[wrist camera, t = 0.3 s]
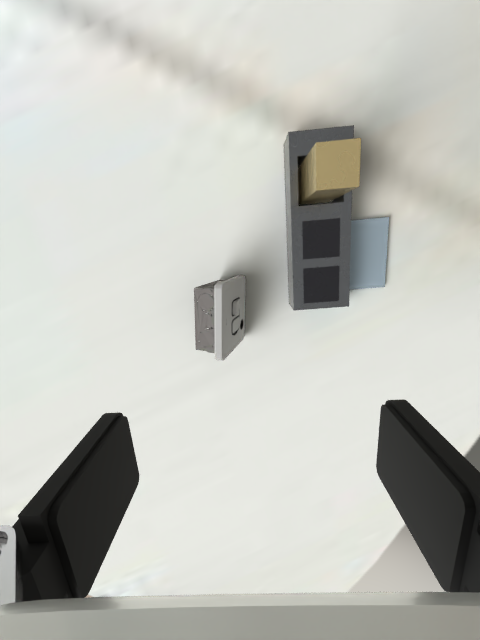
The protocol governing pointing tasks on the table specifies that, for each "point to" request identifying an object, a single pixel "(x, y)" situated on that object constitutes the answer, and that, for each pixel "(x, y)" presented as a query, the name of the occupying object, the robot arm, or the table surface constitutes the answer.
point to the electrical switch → (220, 315)
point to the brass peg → (329, 171)
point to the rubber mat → (368, 252)
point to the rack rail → (316, 231)
